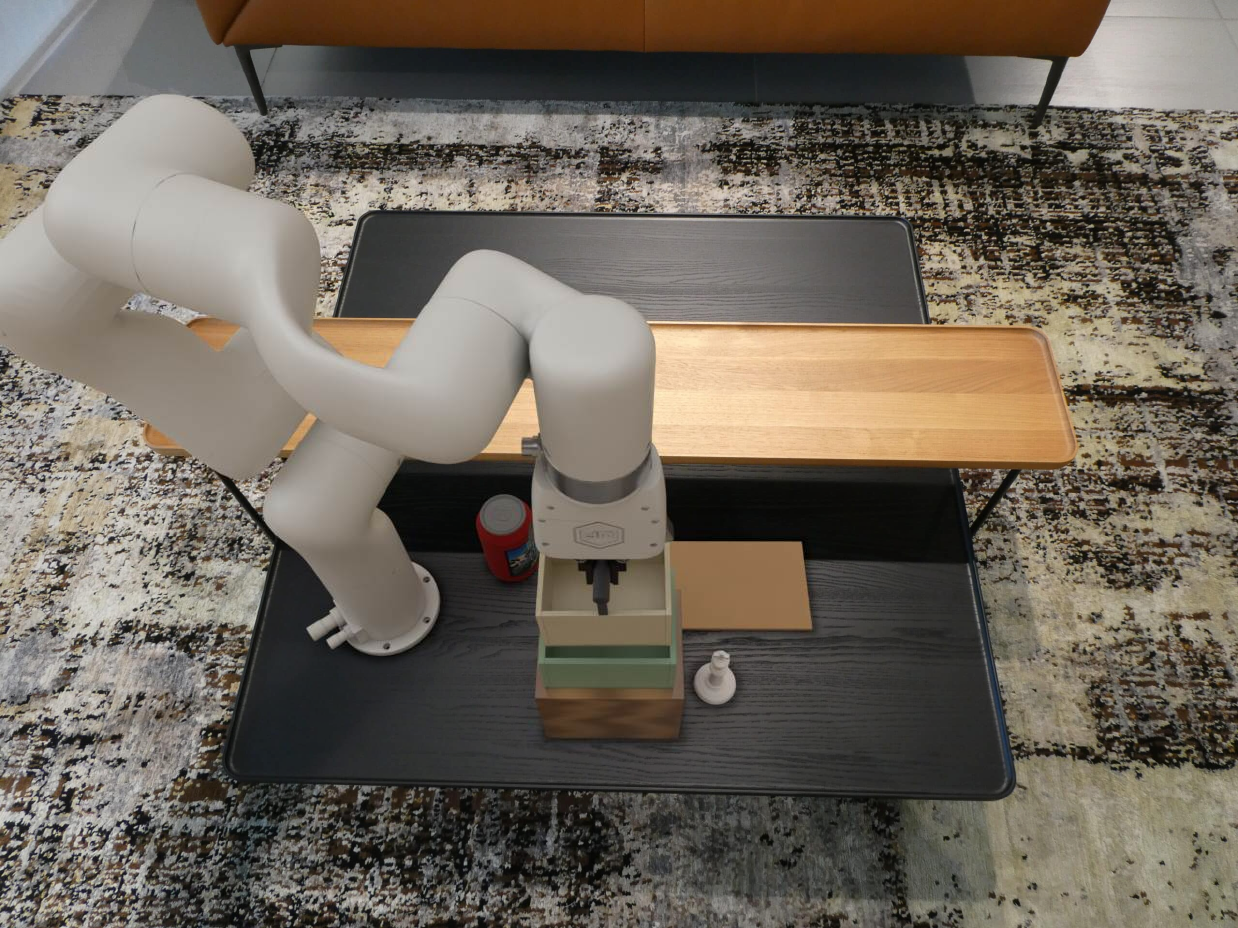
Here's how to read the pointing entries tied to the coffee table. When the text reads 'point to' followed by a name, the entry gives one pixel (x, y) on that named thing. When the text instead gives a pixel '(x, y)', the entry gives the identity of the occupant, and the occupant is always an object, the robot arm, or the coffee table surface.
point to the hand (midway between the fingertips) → (602, 568)
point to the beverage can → (507, 538)
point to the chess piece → (715, 680)
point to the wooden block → (614, 705)
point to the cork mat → (741, 585)
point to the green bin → (611, 664)
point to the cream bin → (605, 603)
